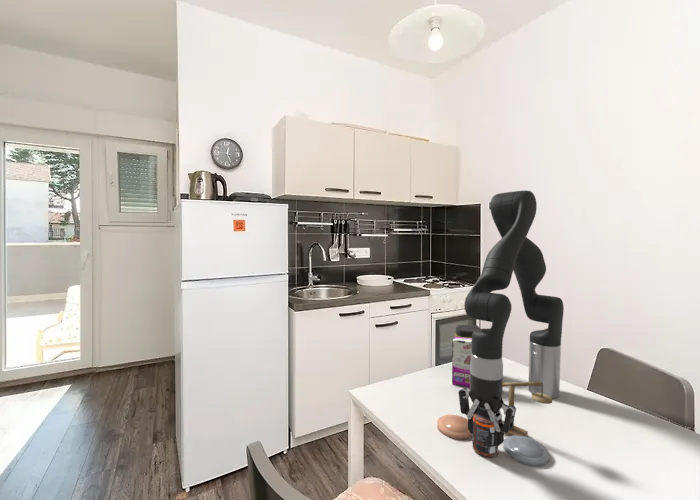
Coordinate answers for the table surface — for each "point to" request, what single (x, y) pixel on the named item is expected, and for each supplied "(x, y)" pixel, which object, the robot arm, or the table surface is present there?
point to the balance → (535, 396)
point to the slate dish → (526, 450)
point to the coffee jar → (465, 330)
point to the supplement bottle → (484, 433)
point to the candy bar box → (461, 361)
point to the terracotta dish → (454, 427)
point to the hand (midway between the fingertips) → (485, 438)
